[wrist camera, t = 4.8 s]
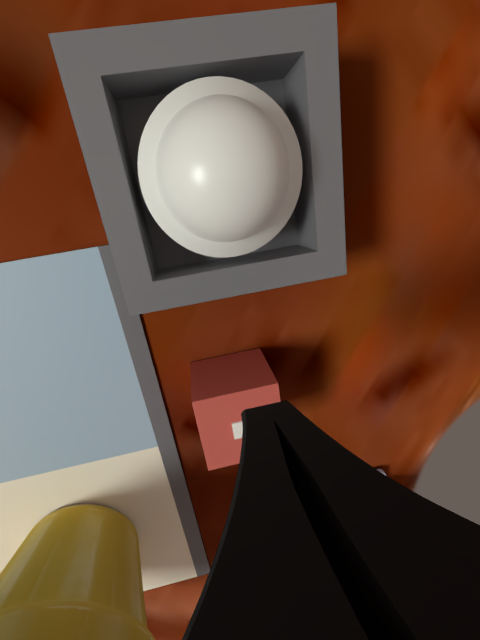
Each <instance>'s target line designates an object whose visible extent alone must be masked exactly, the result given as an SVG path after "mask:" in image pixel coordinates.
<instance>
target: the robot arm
mask: <svg viewBox="0 0 480 640" xmlns="http://www.w3.org/2000/svg"><path fill="white" fill-rule="evenodd" d="M241 418H242V425H243V433H242V447H241V454H240V462H239V468H238V474H237V478H236V483H235V488H234V492H233V497H232V501H231V505H230V509H229V513H228V516H227V520H226V523H225V527H224V530H223V533H222V537H221V540H220V543H219V546H218V549H217V552H216V555H215V558H214V560H213V563H212V566H211V569H210V572H209V575H208V577H207V580H206V583H205V586H204V588H203V591H202V593H201V596H200V598H199V601H198V603H197V606H196V608H195V610H194V613H193V615H192V617H191V620H190V622H189V625H188V627H187V629H186V632H185V634H184V636H183V639H182V640H480V525H478V524H476V523H474V522H472V521H469V520H468V519H466V518H463V517H461V516H459V515H457V514H455V513H453V512H451V511H449V510H447V509H445V508H443V507H441V506H439V505H437V504H435V503H433V502H431V501H429V500H428V499H426V498H424V497H422V496H420V495H418V494H417V493H415V492H413V491H411V490H410V489H408V488H406V487H404V486H403V485H401V484H399V483H397V482H396V481H394V480H392V479H391V478H389V477H387V476H386V474H385V472H384V471H383V470H382V469H375V468H373V467H372V466H370V465H369V464H367V463H366V462H364V461H363V460H361V459H360V458H358V457H357V456H356V455H354V454H353V453H351V452H350V451H349V450H347V449H346V448H344V447H343V446H342V445H340V444H339V443H338V442H336V441H335V440H334V439H333V438H331V437H330V436H329V435H327V434H326V433H325V432H323V431H322V430H321V429H320V428H318V427H317V426H316V425H315V424H314V423H312V422H311V421H310V420H309V419H308V418H307V417H305V416H304V415H303V414H302V413H301V412H300V411H299V410H297V409H296V408H295V407H294V406H293V405H292V404H291V403H289V402H288V401H286V400H285V401H281V402H276V403H272V404H267V405H263V406H258V407H254V408H249V409H245V410H244V411H243V412H242V413H241Z"/></svg>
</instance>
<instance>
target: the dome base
mask: <svg viewBox="0 0 480 640" xmlns="http://www.w3.org/2000/svg"><path fill="white" fill-rule="evenodd" d="M49 38H50V41H51V45H52V48H53V52H54V55H55V59H56V62H57V66H58V69H59V73H60V76H61V80H62V83H63V86H64V90H65V93H66V97H67V100H68V104H69V107H70V111H71V114H72V118H73V121H74V125H75V128H76V131H77V135H78V138H79V142H80V145H81V149H82V152H83V156H84V159H85V163H86V166H87V170H88V173H89V176H90V180H91V183H92V187H93V190H94V194H95V197H96V201H97V204H98V208H99V211H100V215H101V218H102V221H103V225H104V228H105V232H106V235H107V239H108V242H109V246H110V249H111V253H112V256H113V260H114V263H115V266H116V270H117V273H118V277H119V280H120V284H121V287H122V291H123V294H124V298H125V301H126V305H127V308H128V311H129V315H130V316H134V315H139V314H144V313H149V312H154V311H160V310H165V309H170V308H175V307H180V306H185V305H191V304H196V303H201V302H206V301H211V300H217V299H222V298H227V297H232V296H237V295H243V294H248V293H253V292H258V291H263V290H269V289H274V288H279V287H284V286H289V285H295V284H300V283H305V282H310V281H315V280H320V279H326V278H331V277H336V276H341V275H346V274H347V267H346V241H345V215H344V189H343V163H342V137H341V112H340V86H339V60H338V34H337V8H336V3H328V4H319V5H309V6H300V7H291V8H282V9H272V10H263V11H254V12H244V13H235V14H226V15H217V16H207V17H198V18H189V19H179V20H170V21H161V22H152V23H142V24H133V25H124V26H115V27H105V28H96V29H87V30H77V31H68V32H59V33H50V34H49ZM212 76H223V77H232V78H235V79H239V80H243V81H245V82H247V83H250V84H252V85H254V86H256V87H257V88H259V89H260V90H262V91H264V92H265V93H266V94H267V95H268V96H270V97H271V98H272V99H273V100H274V101H275V102H276V103H277V104H278V105H279V106H280V107H281V109H282V110H283V112H284V113H285V114H286V116H287V117H288V119H289V121H290V123H291V125H292V126H293V128H294V131H295V133H296V136H297V139H298V142H299V146H300V150H301V157H302V173H303V174H302V184H301V189H300V194H299V198H298V201H297V204H296V206H295V208H294V211H293V213H292V215H291V217H290V218H289V220H288V221H287V223H286V225H285V226H284V227H283V228H282V229H281V231H280V232H279V233H278V234H277V235H276V236H275V237H274V238H273V239H272V240H270V241H269V242H268V243H266V244H265V245H264V246H262V247H260V248H258V249H256V250H255V251H252V252H250V253H247V254H244V255H240V256H236V257H227V258H223V257H211V256H205V255H202V254H198V253H195V252H193V251H191V250H189V249H186V248H185V247H183V246H181V245H180V244H178V243H177V242H176V241H174V240H173V239H172V238H170V237H169V236H168V235H167V234H166V233H165V232H164V231H163V230H162V229H161V227H160V226H159V225H158V224H157V222H156V221H155V220H154V218H153V216H152V215H151V213H150V211H149V210H148V207H147V205H146V203H145V200H144V198H143V195H142V191H141V188H140V183H139V177H138V164H137V163H138V150H139V145H140V140H141V136H142V133H143V131H144V128H145V125H146V123H147V121H148V119H149V117H150V115H151V114H152V113H153V111H154V110H155V108H156V107H157V105H158V104H159V103H160V102H161V101H162V100H163V99H164V98H165V97H166V96H167V95H168V94H170V93H171V92H172V91H173V90H175V89H176V88H178V87H180V86H181V85H183V84H185V83H187V82H190V81H193V80H195V79H199V78H204V77H212Z"/></svg>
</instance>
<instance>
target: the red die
mask: <svg viewBox="0 0 480 640" xmlns="http://www.w3.org/2000/svg"><path fill="white" fill-rule="evenodd" d="M191 394H192V405H193V409H194V414H195V418H196V422H197V426H198V430H199V434H200V438H201V443H202V447H203V451H204V455H205V459H206V463H207V467H208V471H210V470H214V469H218V468H222V467H226V466H230V465H234V464H239V462H240V454H241V447H242V433H243V425H242V418H241V413H242V412H243V411H244V410H245V409H249V408H254V407H258V406H263V405H267V404H272V403H276V402H281V401H280V393H279V385H278V382H277V380H276V378H275V376H274V374H273V372H272V370H271V368H270V367H269V365H268V363H267V361H266V359H265V357H264V355H263V353H262V351H261V349H260V348H257V349H252V350H247V351H242V352H238V353H233V354H228V355H223V356H219V357H214V358H209V359H204V360H200V361H195V362H191Z"/></svg>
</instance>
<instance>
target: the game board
mask: <svg viewBox="0 0 480 640" xmlns="http://www.w3.org/2000/svg"><path fill="white" fill-rule="evenodd" d="M79 504H96V505H102V506H106V507H109V508H112V509H114V510H117V511H118V512H120V513H122V514H123V515H125V516H126V517H127V518H128V519H129V520H130V521H131V522H132V524H133V525H134V527H135V528H136V531H137V534H138V539H139V551H140V562H141V573H142V583H143V591H146V590H150V589H154V588H157V587H161V586H165V585H168V584H172V583H175V582H179V581H183V580H186V579H190V578H194V577H197V576H201V575H205V574H208V573H209V572H210V567H209V563H208V560H207V556H206V553H205V549H204V545H203V542H202V538H201V535H200V531H199V527H198V524H197V520H196V517H195V513H194V509H193V506H192V502H191V499H190V495H189V491H188V488H187V484H186V480H185V477H184V473H183V470H182V466H181V462H180V459H179V455H178V452H177V448H176V444H175V441H174V437H173V434H172V430H171V426H170V423H169V419H168V416H167V412H166V408H165V405H164V401H163V398H162V394H161V390H160V387H159V383H158V380H157V376H156V372H155V369H154V365H153V362H152V358H151V354H150V351H149V347H148V343H147V340H146V336H145V333H144V329H143V325H142V322H141V318H140V315H134V316H130V315H129V311H128V308H127V305H126V301H125V298H124V294H123V291H122V287H121V284H120V280H119V277H118V273H117V270H116V266H115V263H114V260H113V256H112V253H111V249H110V246H109V245H104V246H98V247H92V248H86V249H80V250H75V251H69V252H63V253H57V254H51V255H45V256H39V257H34V258H28V259H22V260H16V261H10V262H4V263H0V573H1V572H2V571H3V569H4V568H5V566H6V565H7V564H8V562H9V561H10V559H11V558H12V557H13V555H14V554H15V552H16V551H17V550H18V548H19V547H20V545H21V544H22V542H23V541H24V540H25V538H26V537H27V535H28V534H29V533H30V531H31V530H32V528H33V527H34V526H35V525H36V524H37V523H38V522H39V521H40V520H41V519H43V518H44V517H45V516H47V515H48V514H50V513H52V512H54V511H56V510H58V509H61V508H64V507H68V506H73V505H79Z"/></svg>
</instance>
